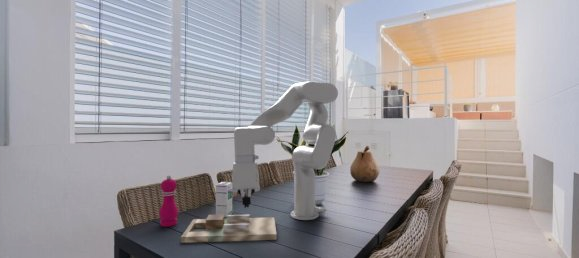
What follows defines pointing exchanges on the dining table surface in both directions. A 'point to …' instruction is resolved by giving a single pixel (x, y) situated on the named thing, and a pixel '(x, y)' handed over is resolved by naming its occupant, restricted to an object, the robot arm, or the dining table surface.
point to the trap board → (231, 230)
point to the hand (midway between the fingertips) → (246, 206)
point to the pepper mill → (168, 203)
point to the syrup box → (224, 198)
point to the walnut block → (215, 221)
